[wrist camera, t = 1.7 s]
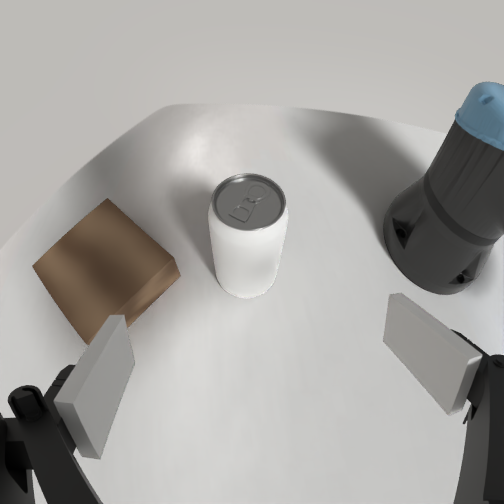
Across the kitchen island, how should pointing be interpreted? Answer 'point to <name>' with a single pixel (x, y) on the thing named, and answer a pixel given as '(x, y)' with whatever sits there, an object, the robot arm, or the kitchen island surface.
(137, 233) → the walnut stand
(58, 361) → the kitchen island surface
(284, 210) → the can
